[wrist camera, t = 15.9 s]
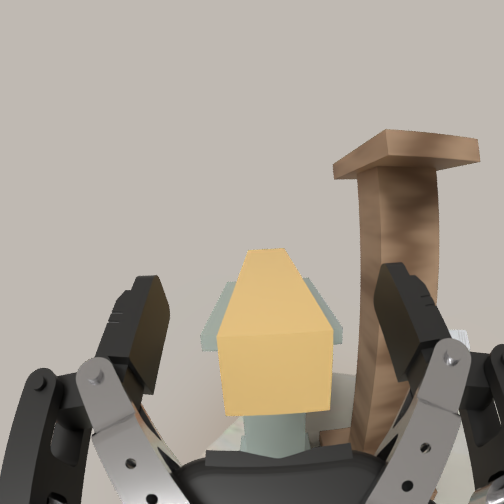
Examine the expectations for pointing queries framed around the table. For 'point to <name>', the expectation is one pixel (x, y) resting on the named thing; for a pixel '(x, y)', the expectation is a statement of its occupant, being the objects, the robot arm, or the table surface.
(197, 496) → the robot arm
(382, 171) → the walnut stand
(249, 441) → the slate pedestal
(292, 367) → the ochre bar
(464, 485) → the table surface
